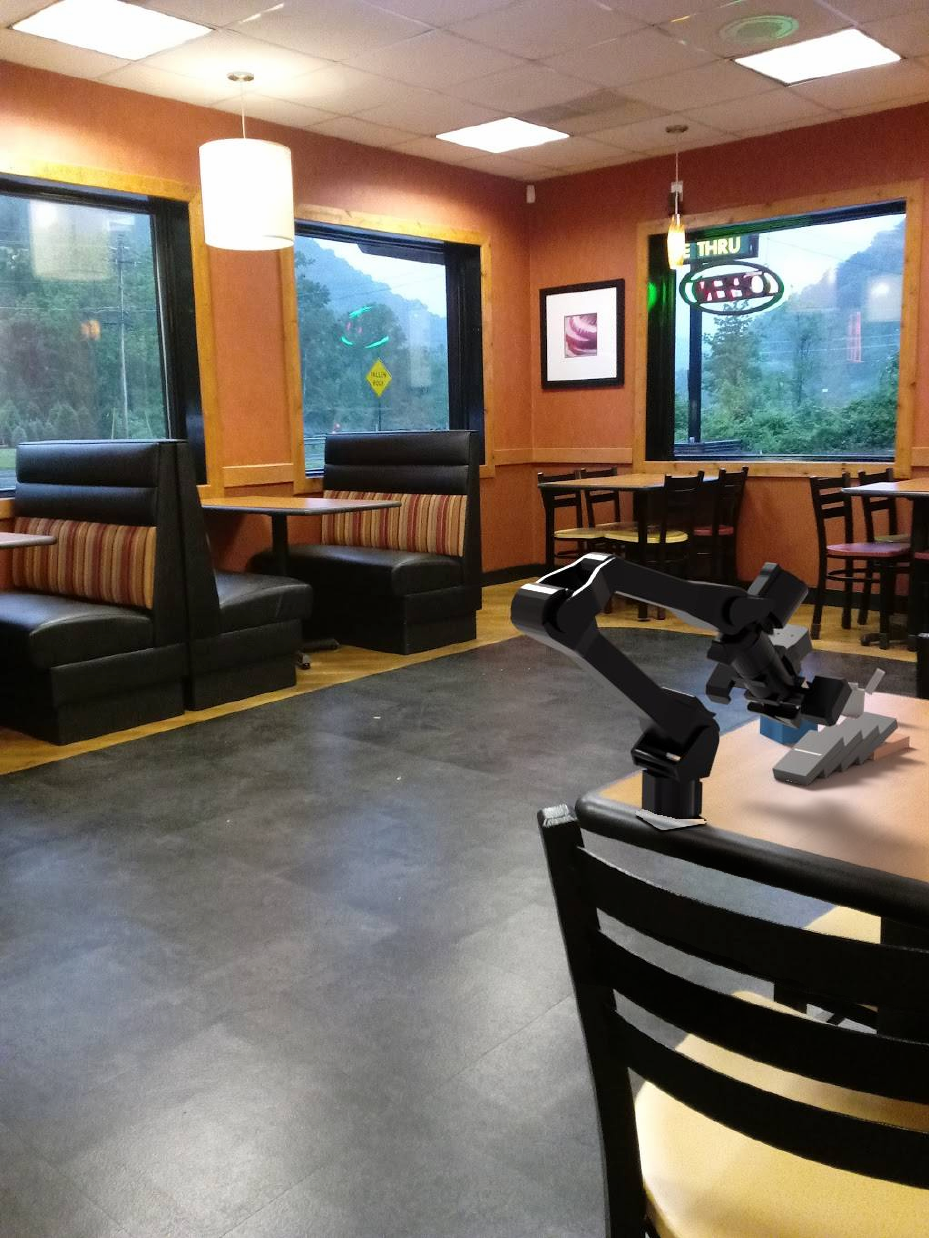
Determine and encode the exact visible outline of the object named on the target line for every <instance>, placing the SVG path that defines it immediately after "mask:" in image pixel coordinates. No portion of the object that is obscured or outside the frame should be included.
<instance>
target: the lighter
mask: <svg viewBox="0 0 929 1238" xmlns="http://www.w3.org/2000/svg"><path fill="white" fill-rule="evenodd" d="M885 673H886V672H885V671H884V670H882V669H880V668H876V670H875V672H874V674H873V675H872V677H871V678H870V680H869V682H868V683H867V685H866V686H865V688H859V683H858V682H848V681H847V682H848V684H849V685H850V687H851V689H852V693H851V695H850V697H849V699H848V701H847V703H846V705H845V707H844V709H843V711H842V713H841V715H845V716H854V717H860V716H861V715H862V714H863V713H864V712H865V697H866V696H865V695H866V693H867V694H869V695H870V696H872V694H873V693H874V691H876V689H877V686H878V685H879V683H880V682H881V680H882V679H883V677H884V675H885Z"/></svg>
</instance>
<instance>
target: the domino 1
mask: <svg viewBox="0 0 929 1238" xmlns="http://www.w3.org/2000/svg"><path fill="white" fill-rule="evenodd" d="M794 744H795V745H793V746H792V747H791V749H789V750H788V752H787V753H785V754H784V756H782V757H781V759H779V760H778V762H776V764H775V765H774V766H772V774H773V778H774V779H777V780H781V781H785V780H789V781H792V782H791V783H793V782H796V783H795V784H797V783H799V784H798V785H801V784H803V785H802V786H805V785H807V786H806V787H808V786H809V785H810V784H811V783H812V782H813V781H814V779H816V778H817V777H818V776H817V775H818V774H819V773H820V772H821V771H822V770H823V769H824V768H825V767H826V766H827V765H828V763H829V762H830V761H831V760H832V759H833V758H834V757H835V756H836V755H837V754H838V753H839V752H840V751H841V749H842V748H843V747H844V746H845V745H844V740H843V736H838V735H833V734H829V733H824V732H820V731H819V730H818V731H814V730H809V731H808V732H807V733H806V734H805V735H804V736H803V737H802V738H801V739H800V740H799V741H798V742H797V743H794ZM789 781H788V782H789Z"/></svg>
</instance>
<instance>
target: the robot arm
mask: <svg viewBox="0 0 929 1238" xmlns="http://www.w3.org/2000/svg"><path fill="white" fill-rule="evenodd" d="M613 594H618V595H621V596H624V597H626V598H627V597H628V598H631V599H634V600H636V601H637V600H638V601H640V602H644V603H647V604H650V605H654V606H657V607H660V608H664V609H666V610H668V611H669V612H671V613H673V615H674V616H675V617H676V618H678V619H679V620H681V621H683V622H684V623H686V624H688V625H690V626H691V627H692V628H695V629H701V630H706V631H711V632H716V633H717V634H716V636H715V639H712V640H711V641H710V646H709V648H708V649H707V652H706V659H707V660H708V661H713V663H714V662H715V663H716V664H715V666H714V668H713V669H712V671H711V674H710V675H709V677H708V679H707V680H706V682H705V683H704V693H705V695H706V696H707V698H708V699H709V701H710V702H711V703H716V704H721V705H725V706H727V705H729V704H730V703H731V701H732V698H731V696H730V694H731V692H732V691H733V689H734V688H737V689H741V690H744V693H743V695H742V699H743V701H747V702H748V704H747V705H746V709H747V711H748V712H750V713H754V714H757V715H759V716H760V715H762V716H764V717H767V718H770V719H772V720H775V721H777V722H780V723H782V724H785V725H787V726H790V727H792V728H795V729H800V727H801V725H802V717H803V718H804V719H806V720H807V721H809V722H811V723H814V724H818V726H819V725H820V726H824V727H825V726H828V727H831V726H833V725H835V724H838V723H837V722H838V721H839V719H840V717H841V715H842V714H841V713H842V711H843V709H844V707H845V705H846V703H847V701H848V699H849V697H850V695H851V693H852V689H851V687H850V685H849V684H848V680H847V679H846V677H840V676H836V675H829V674H824V673H819V674H815V676H814V677H813V680H812V681H810V680H809V681H808V680H807V677H806V676H803V675H802V676H798V675H799V673H800V671H801V670H802V669H803V668H802V665H801V666H800V665H799V662H801V661H803V659H805V657H806V656H807V655H808V654H809V653H810V654H811V653H812V651H813V650H814V647H813V643H812V639H811V636H810V630H809V628H808V626H805V625H804V626H803V625H797V624H789V621H790V620H791V618H792V617H793V615H794V614H795V612H796V611H797V610H798V608H799V606H801V604H802V602H803V601H804V600H805V598H807V595H808V594H809V587H808V586H807V583H806V582H805V581H804V580H803V579H800V578H799V577H798V576H796V575H794V574H793V573H792V572H790V571H788V570H786V569H783V568H782V566H781V565H780V564H779V563H775V562H774V563H773V562H765V563H764V565H763V566H762V567H761V569H760V571H759V573H758V576H757V577H756V578H755V580H754V581H753V582H752V584H751V585H750V586H749V588H748V590H747V591H746V590H745V589H743V588H742V587H739V586H733V585H732V586H731V585H726V584H719V583H718V584H717V583H713V582H712V583H711V582H707V581H696V580H695V581H694V580H685V579H683V578H680V577H676V576H673V575H671V574H667V573H664V572H661V571H659V570H656V569H652V568H650V567H646V566H643V565H640V564H637V563H634V562H632V561H628V560H625V559H624V558H622V557H621V556H620V555H617V554H612V553H611V554H610V553H602V552H595V551H594V552H589V553H587V554H586V555H583V556H582V557H580V558H579V559H577V560H576V561H575V562H573V563H571V564H569V565H566V566H564V567H562V568H560V569H557V570H555V571H553V572H550V573H549V574H546V575H545V576H542V577H541V578H540V579H538V580H537V581H536V582H529V583H526V584H524V585H523V586H521V587H520V588H519V589H518V590H517V591H516V592H515V594H513V595H514V596H513V598H512V600H511V605H510V616H509V620H510V622H511V623H512V626H513V627H514V628H516V630H517V631H519V632H521V633H522V634H524V635H526V636H527V637H529V638H531V639H534V640H535V641H537V642H539V643H542V644H544V645H546V646H548V647H550V648H551V649H554V650H556V651H558V652H561V653H563V654H565V655H566V656H567V657H568V658H570V659H571V660H572V661H573V662H574V663H575V664H576V665H578V667H579V668H581V669H582V670H583V671H584V672H586V673H587V674H588V675H589V676H590V677H591V678H593V680H595V681H596V682H597V683H598V684H599V685H600V686H602V687H603V688H604V689H606V690H607V691H608V692H609V693H610V694H611V695H612V696H614V697H615V699H617V701H619V702H620V703H621V704H623V706H625V707H626V708H627V709H628V710H629V711H630V712H631V713H633V714H634V715H635V716H636V717H637V719H638V722H639V725H640V726H639V727H640V730H641V732H642V734H641V735H640V737H639V738H638V740H637V741H636V742H635V744H634V745H633V747H631V749H630V755H631V760H632V762H633V765H634V766H636V767H640V768H643V769H642V771H641V809H644V810H648V811H650V812H652V813H654V814H657V815H663V816H667V817H672V818H675V819H704V821H707V819H706V818H704V817H703V816H701V815H702V813H703V789H704V788H703V787H704V785H703V781H702V780H701V779H707V778H709V777H711V772H712V769H713V766H714V763H715V759H716V755H717V752H718V748H719V745H720V732H721V728H720V725H719V723H718V722H717V720H716V719H715V717H716V716H717V713H716V712H713V711H711V710H709V709H707V708H706V706H705V705H704V703H703V702H702V700H700V699H699V698H698V697H697V696H695V695H692V694H688V693H685V692H682V691H678V690H675V689H672V688H667V687H664V686H663V687H661V686H659V684H658V683H657V682H655V681H654V679H652V678H651V677H650V676H649V675H648V674H646V673H645V672H644V670H642V669H641V668H640V667H639V666H638V665H637V664H636V663H634V662H633V661H632V660H631V659H630V658H629V657H628V656H627V655H626V654H625V653H624V652H622V651H621V650H620V649H619V648H618V647H617V646H616V645H615V644H614V643H612V642H611V641H610V640H609V639H608V638H607V636H605V635H604V634H602V632H601V631H600V629H599V626H598V621H597V616H598V615H599V614H600V613H602V612H603V610H604V608H605V607H606V605H607V603H608V601H609V599H610V598H611V596H613ZM667 754H670V755H673V756H675V757H678V758H679V759H676V758H674V757H671V756H667Z"/></svg>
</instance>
